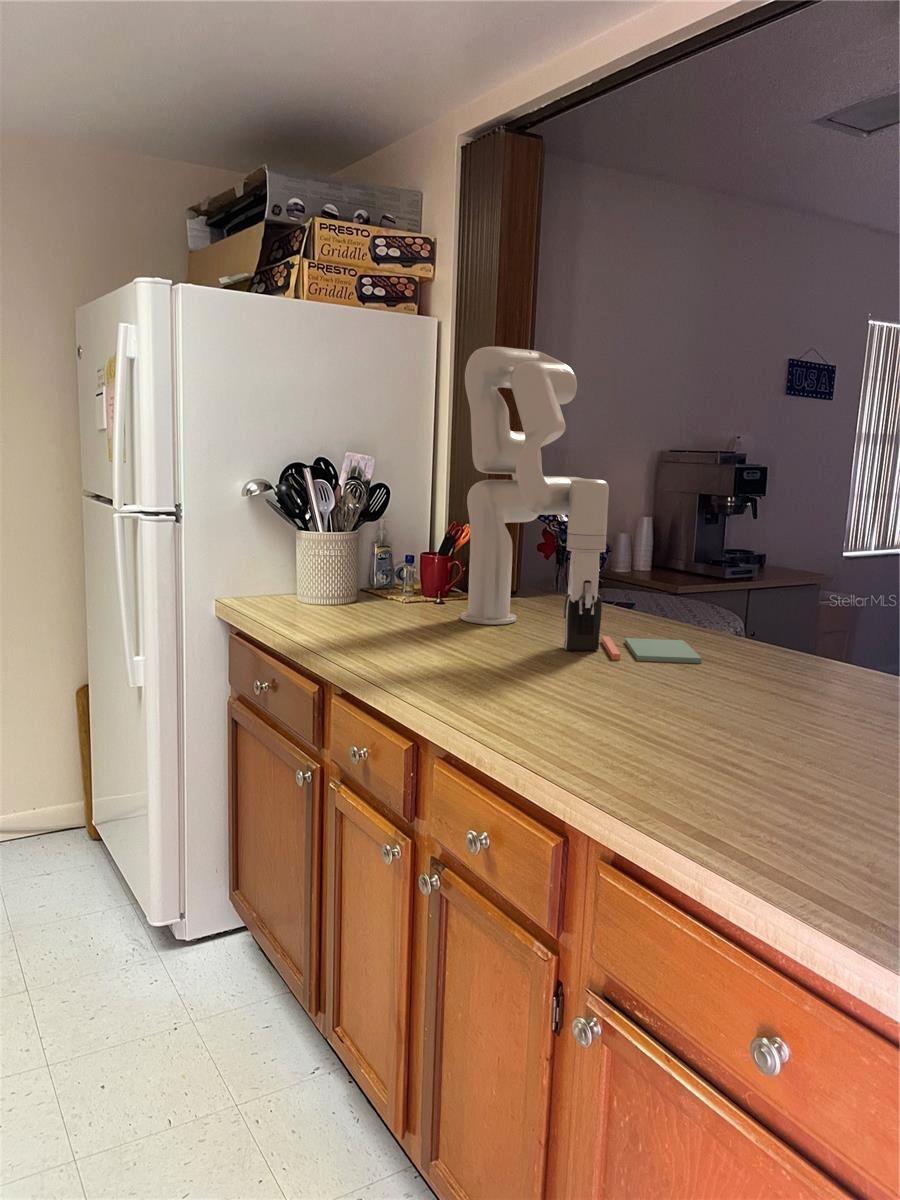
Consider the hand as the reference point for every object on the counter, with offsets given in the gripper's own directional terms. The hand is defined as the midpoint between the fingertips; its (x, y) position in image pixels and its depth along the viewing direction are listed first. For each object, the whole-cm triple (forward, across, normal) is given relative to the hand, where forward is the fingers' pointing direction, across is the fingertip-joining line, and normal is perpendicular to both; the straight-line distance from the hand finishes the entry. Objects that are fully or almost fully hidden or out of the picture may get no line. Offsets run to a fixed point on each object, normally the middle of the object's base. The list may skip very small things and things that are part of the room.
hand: (582, 629), depth 180 cm
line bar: (+4, 0, +6) cm, 7 cm away
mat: (+4, 0, +16) cm, 16 cm away
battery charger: (+4, 0, 0) cm, 4 cm away
